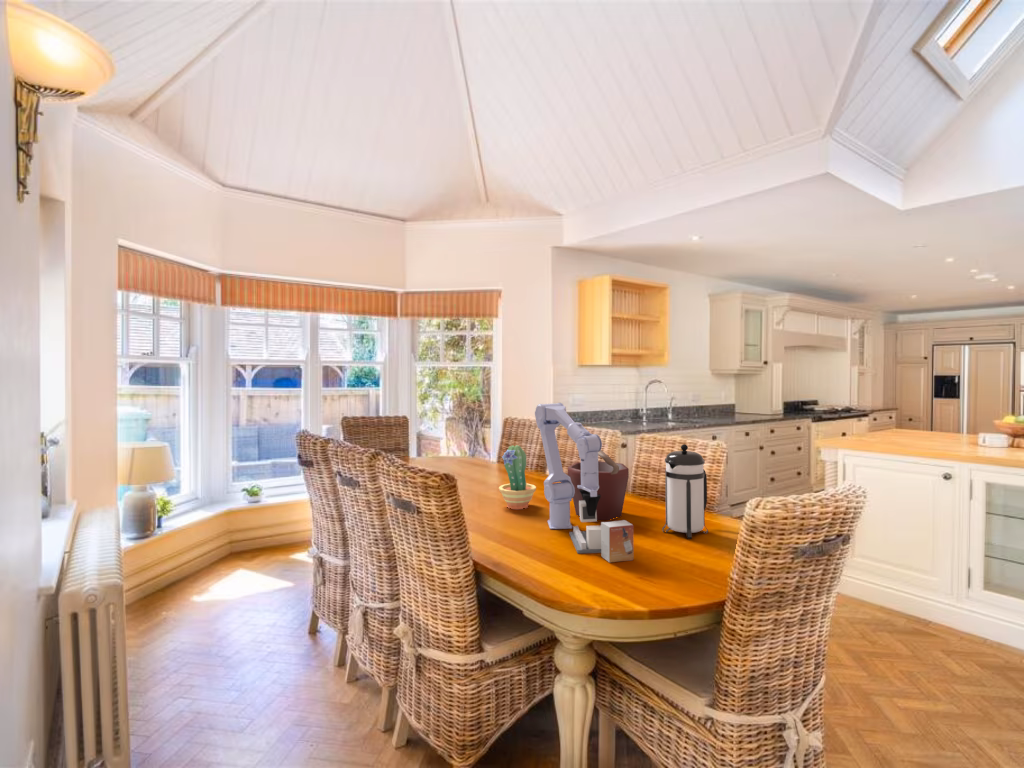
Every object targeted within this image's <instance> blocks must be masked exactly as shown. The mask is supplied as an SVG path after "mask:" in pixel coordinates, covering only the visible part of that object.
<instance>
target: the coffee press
mask: <svg viewBox="0 0 1024 768" xmlns="http://www.w3.org/2000/svg"><path fill="white" fill-rule="evenodd" d="M680 449H681V450H674V451H671V452H669V453H667V455H666V457H665V458H664V462H665V472H664V473H665V477H664V478H665V480H664V481H665V484H664V485H665V487H664V488H665V524H664V526H663V527H662V529H661V531H662V532H663V533H664V531H666V533H668V531H670V530H672V531H675V532H678V533H685V534H686V539H687V540H692V539H693V534H692V533H698V532H699V533H700V531H702V533H704V534H709V530H708V528H707V527H706V523H705V521H706V520H705V517H706V516H705V510H706V508H707V503H708V478H707V473H706V470H705V469H704V466H705V459H704V458H703V457H704V456H703V455H701V454H700V453H698V452H695V451H691V450H689V451H688V449H689V447H688V445H687V444H685V443H684V444H683V443H682V445H681V446H680ZM666 527H668V528H667V529H666V530H665V528H666ZM704 528H705V529H706V531H704V530H703V529H704ZM705 532H706V533H705Z"/></svg>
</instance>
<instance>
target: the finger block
mask: <svg viewBox="0 0 1024 768" xmlns="http://www.w3.org/2000/svg"><path fill="white" fill-rule="evenodd" d="M579 516H580V517H579ZM579 516H578V517H579V520H580V522H581V523H591V522H593V523H594V522H598V521H597V511H596V513H595V516H588V513H587V507H586V502H585V500H582V501H579Z"/></svg>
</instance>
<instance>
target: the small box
mask: <svg viewBox="0 0 1024 768" xmlns="http://www.w3.org/2000/svg"><path fill="white" fill-rule="evenodd" d="M600 525H601V553H600V555H601V556H600V557H602V559H604V560H606V561H607V562H608V563H615V562H616V563H617V562H627V561H633V560H634V525H633V523H630V522H629V521H627V520H626V519H622V520H613V521H600Z"/></svg>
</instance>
